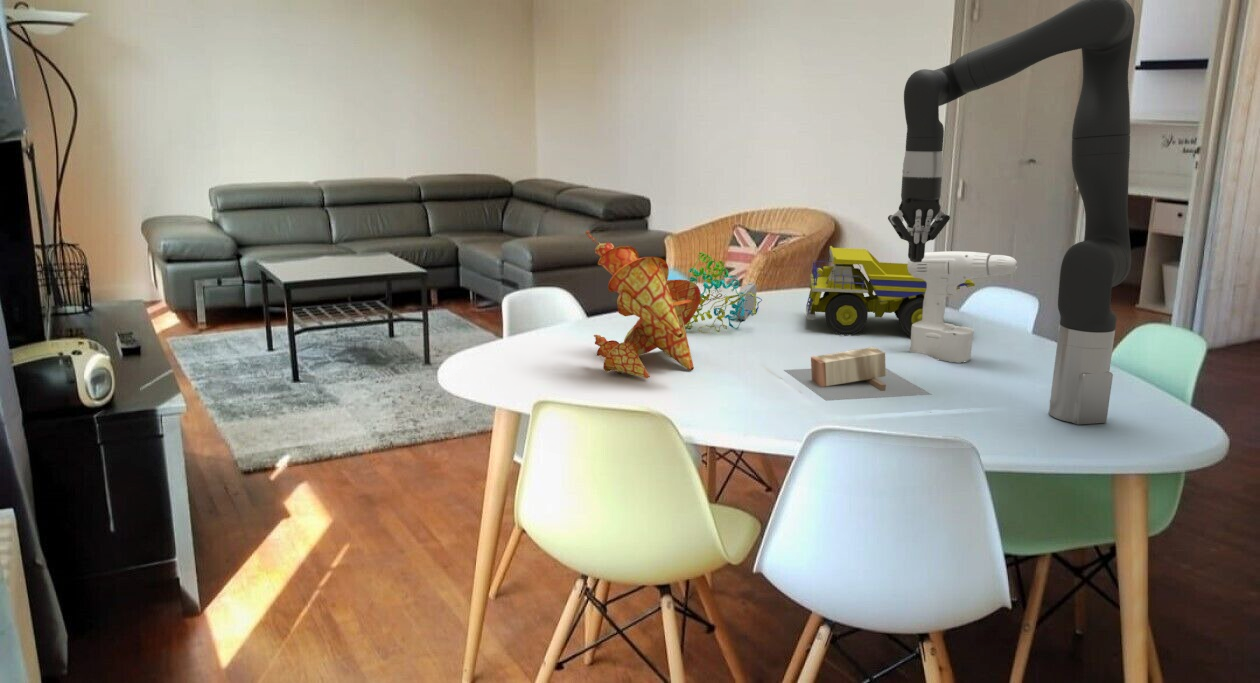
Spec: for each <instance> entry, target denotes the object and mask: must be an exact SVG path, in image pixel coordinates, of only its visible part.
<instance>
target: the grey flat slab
mask: <svg viewBox="0 0 1260 683" xmlns="http://www.w3.org/2000/svg"><path fill="white" fill-rule="evenodd" d="M738 293H739V294H740V293H744V294H746V293H749V294H751V293H752V294H754V295H755V296H756V298H754V297H752V296H751V295H745V296H744V297H743V298H744V300H745V299H747V301H746V300H745V301H744V309H745V310H749V311H751V312H752V310H753V309H754V307H755V299H756V300H757V285H756V283H754V282H751V281H750V282H748V283H747V284H746V285H745V286H743V287H742V288H741V289H740V290H739V292H738ZM740 297H741V296H737V299H738V298H740ZM738 301H739V300H738ZM738 301H737V302H736V305H737V304H738ZM741 301H742V300H740V301H739V304H740V302H741ZM740 307H742V308H743V301H742V304H741V306H740ZM740 307H739V311H738V313H737V319H738V320H737V321H739V320H740V321H741V320H742V321H747V319H748V315H749V314H750V313H749V312H748V311H744V315H743V317H741V316H740V315H741V312H742V308H740ZM753 312H754V310H753Z"/></svg>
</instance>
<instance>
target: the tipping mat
mask: <svg viewBox="0 0 1260 683" xmlns="http://www.w3.org/2000/svg"><path fill="white" fill-rule="evenodd" d="M783 371H784V372H785V373H786V374H788V375H790V376H791V377H792V378H794V379H795V380H796V381H798V382H799V383H801V384H802V385H803V386H805V387H806V388H808V389H809V390H811V391H812V392H813V393H815V394H816V395H817V396H819V397H820V398H822V399H823V400H825V401H840V400H841V401H842V400H857V399H858V400H860V399H861V400H862V399H876V398H877V399H878V398H893V397H911V396H927V395H928V396H929V395H932V393H931V392H929V391H927V390H925V389H923V388H921V386H918V385H917V384H915V383H914V382H911V381H909V380H907V379H906V378H904V377H902V376H900V375H898V374H897V373H895V372H893V371H891V370H890V369H888V368H886V376H884V377H878V378H872V379H866V380H861V381H855V382H849V383H843V384H837V385H831V386H825V387H821V386H820V385H818V384H817V383H815V382H814V381H812V373H811V368H795V369H783Z"/></svg>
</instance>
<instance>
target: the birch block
mask: <svg viewBox="0 0 1260 683" xmlns="http://www.w3.org/2000/svg"><path fill="white" fill-rule="evenodd" d="M810 369H811V373H812V381H814V382H815V383H817V384H818V385H820V386H821V387H825V386H831V385H837V384H843V383H849V382H855V381H861V380H866V379H872V378H878V377H884V376H886V369H887V367H886V352H884V351H883V350H881V349H879V348H878V347H877V348H876V347H874V346H872V347H871V346H870V347H864V348H858V349H852V350H847V351H846V350H845V351H840V352H834V353H828V354H821V355H816V356H814V355H813V356H811V357H810Z"/></svg>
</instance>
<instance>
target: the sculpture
mask: <svg viewBox="0 0 1260 683" xmlns="http://www.w3.org/2000/svg"><path fill="white" fill-rule="evenodd" d="M584 233H585V234H586V235H587V237H588V238H589V239H591V241H592V242H595V243H596V246H595V248H594V253H595V254H596V255H598V256H599V258H598V259H599V260H597V265H598V266H601V267H602V268H603V269H605V270H606V271H607V272H608V273H609V274H610V275H612V276H611V277H610V279H609V282H608V285H607V289H608V290H607V291H608V292H610V293H614V292H616V293H617V294H618V297H617V299H616V303H617V304H616V305H617V311H618V314H620V315H622V316H623V317H630V316H635V317H638V318H639V319H637V321H636V323H635V324H634V326H632V328H631V329H630V330H629V331H628V332H627V333H626V335H625V338H624V339H623V342H620V343H619V341H617V340H613V339H612V340H607V338H606V337H604V336H601V335H600V334H594V335H593V337H594V339H595V341H594V345H596V346H598V349H597V350H596V356H597V357H599V356H601V357H603V358H604V361H603V370H604V371H605V372H607V373H608V372H611V371H614V372H617V373H618V374H622V373H623V374H627V375H632V376H636V377H639V378H640V377H641V378H644V379H649V378H651V376H650V374H649V372H648V370H647V368H646V367H645V365H644V364H643V362H642V360H641V358H640V357H639V356H642V355H645V354H647V353H650V352H651V351H653V350H655V349H657V348H658V349H659V350H660V351H661V352H663V353H664V354H666V355H667V356H669V357H670V358H672V359H673V360H674V361H676V362H677V363H679V364H680V365H681V366H682V367H684V368H685V369H687V370H688V371H690V372H691V371H693V370H695V369H694V368H695V367H694V362H693V358H692V353H691V349H690V343H689V340H688V336H687V335H688V334H687V330H686V329H685V328H686V326H687V325H686V324H687V323H688V322H689V321H690V322H691V320H692V318H693V315H695V313H697V311H696V310H697V308H698V307H700V306H699V303H700V299H701V294H702V293H701V289H700V287H699V286H698V285H697V284H696V282H694V281H693V282H691V281H690V280H687V279H685V280H684V279H668V278H669V273H670V272H669V271H670V269H669V265H668V262H667V261H666V260H664V259H663V258H661V257H658V256H644V257H639V253H638V251H637V250H636V249H635V248H634V247H632V246H630V245H619V246H614V244H613V243H611V242H603V243H600V242H596V239H595V238H593V237H592V234H590V231H589V230H586V231H585V232H584ZM598 243H599V244H598ZM698 309H699V308H698ZM690 319H691V320H690Z"/></svg>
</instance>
